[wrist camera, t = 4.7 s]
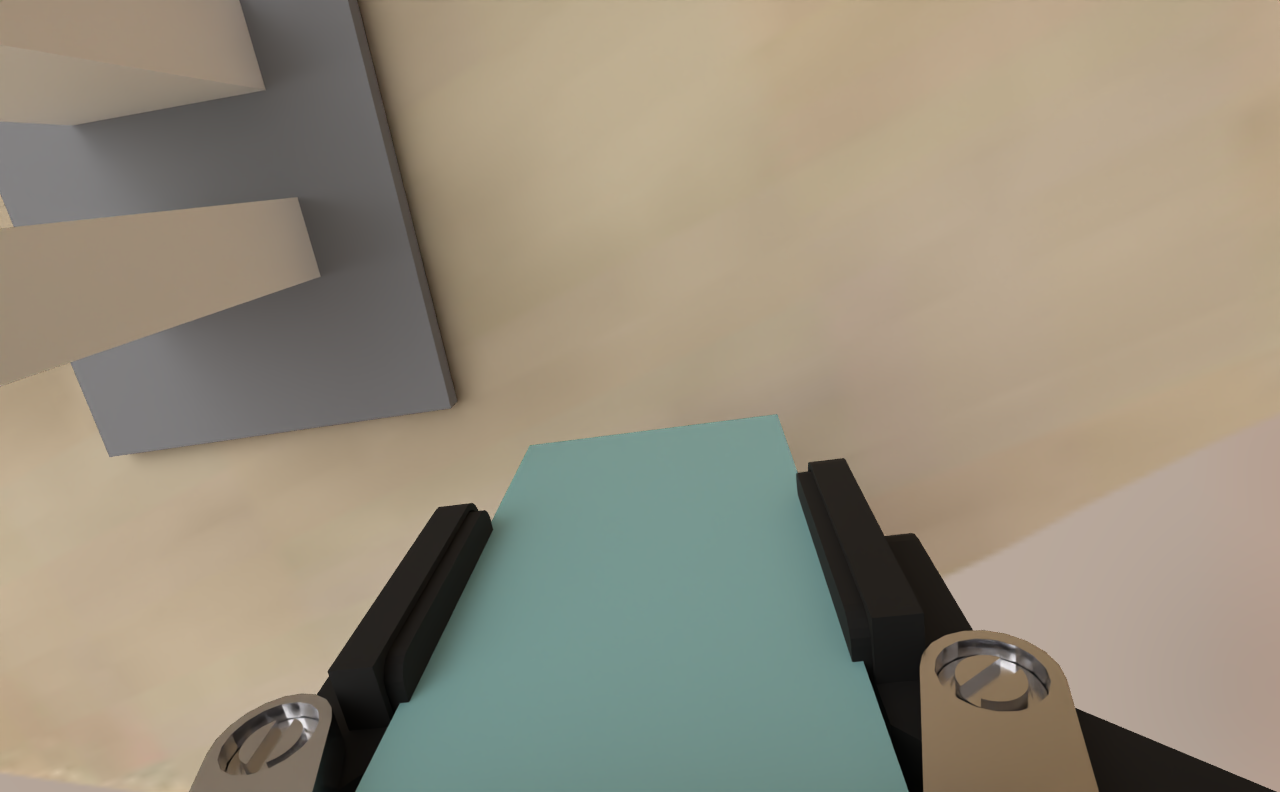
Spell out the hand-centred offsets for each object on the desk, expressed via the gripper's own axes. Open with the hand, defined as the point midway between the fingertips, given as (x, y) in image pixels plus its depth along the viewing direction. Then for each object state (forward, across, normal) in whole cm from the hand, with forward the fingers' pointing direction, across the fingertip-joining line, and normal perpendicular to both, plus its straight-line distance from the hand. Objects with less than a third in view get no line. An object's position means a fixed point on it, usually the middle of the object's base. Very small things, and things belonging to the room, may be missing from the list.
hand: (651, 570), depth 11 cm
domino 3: (+3, 0, 0) cm, 3 cm away
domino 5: (+8, +11, -6) cm, 15 cm away
